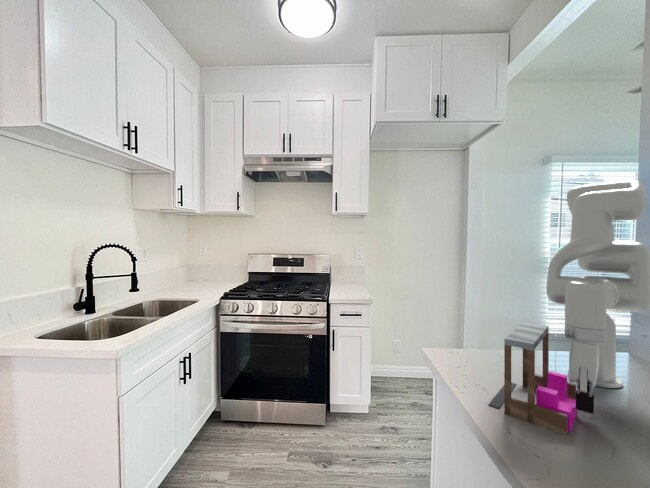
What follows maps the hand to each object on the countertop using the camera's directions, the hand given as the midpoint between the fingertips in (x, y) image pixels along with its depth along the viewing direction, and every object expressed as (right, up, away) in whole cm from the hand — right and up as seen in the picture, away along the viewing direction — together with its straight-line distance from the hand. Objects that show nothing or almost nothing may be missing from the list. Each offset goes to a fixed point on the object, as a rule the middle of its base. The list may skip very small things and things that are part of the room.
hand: (584, 410), depth 73 cm
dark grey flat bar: (-12, -2, +12) cm, 17 cm away
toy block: (-4, -3, +2) cm, 6 cm away
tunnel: (-6, -2, +6) cm, 9 cm away
